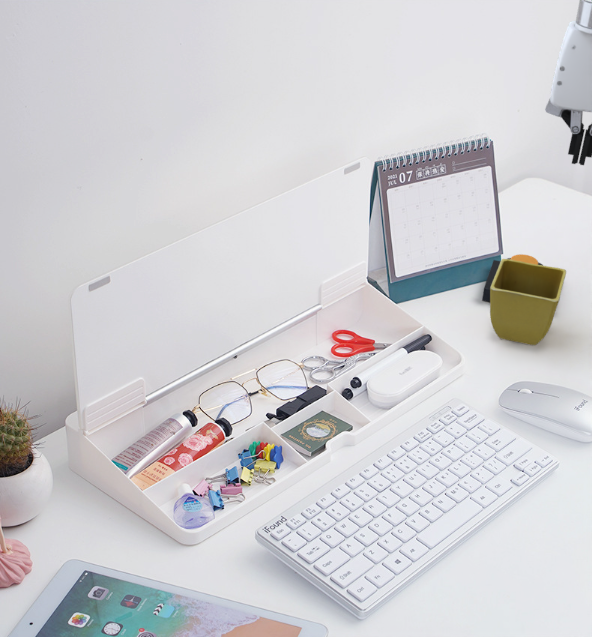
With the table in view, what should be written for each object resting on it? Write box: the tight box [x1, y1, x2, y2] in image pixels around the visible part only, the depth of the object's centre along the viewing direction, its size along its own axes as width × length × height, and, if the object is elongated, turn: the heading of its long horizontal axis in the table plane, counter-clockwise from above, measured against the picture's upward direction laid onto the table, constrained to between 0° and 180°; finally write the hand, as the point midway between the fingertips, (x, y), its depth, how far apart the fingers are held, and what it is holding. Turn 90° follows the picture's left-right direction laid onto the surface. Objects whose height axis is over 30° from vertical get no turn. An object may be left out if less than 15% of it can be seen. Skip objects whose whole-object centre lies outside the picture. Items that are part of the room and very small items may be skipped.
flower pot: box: [489, 258, 567, 346], centre depth 109 cm, size 9×9×9 cm
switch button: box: [510, 253, 539, 265], centre depth 118 cm, size 4×4×2 cm
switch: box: [481, 257, 543, 303], centre depth 119 cm, size 10×9×4 cm
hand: (578, 160), depth 105 cm, fingers closed
